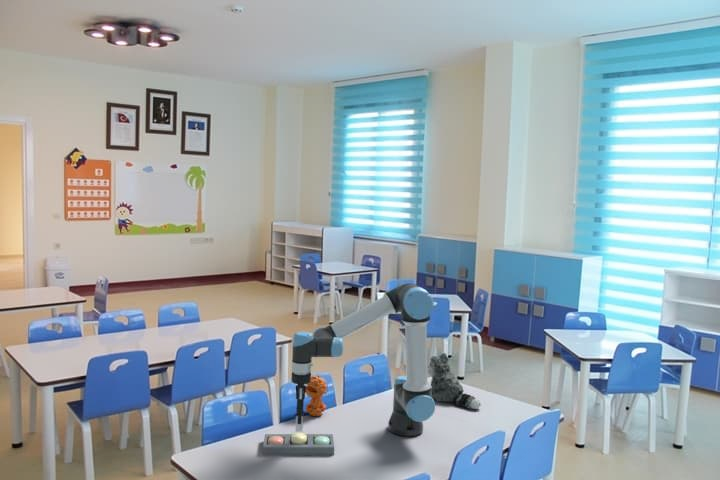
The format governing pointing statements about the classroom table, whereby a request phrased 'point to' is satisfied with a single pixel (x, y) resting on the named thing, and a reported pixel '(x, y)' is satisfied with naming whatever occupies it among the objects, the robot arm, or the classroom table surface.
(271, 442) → the coral button
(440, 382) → the raccoon plush
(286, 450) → the button panel
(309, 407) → the toy dinosaur
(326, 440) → the green button
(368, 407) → the classroom table surface
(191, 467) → the classroom table surface
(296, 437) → the yellow button
